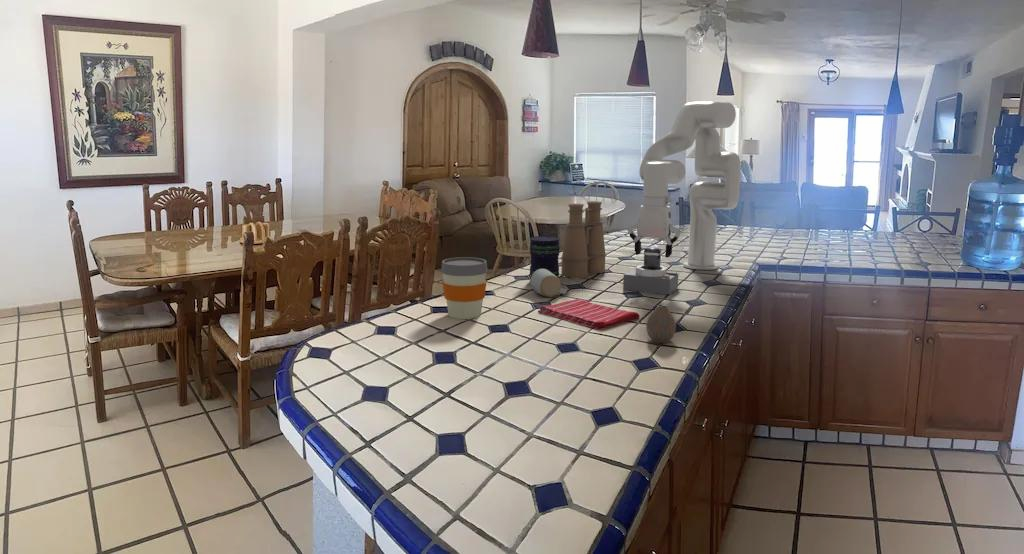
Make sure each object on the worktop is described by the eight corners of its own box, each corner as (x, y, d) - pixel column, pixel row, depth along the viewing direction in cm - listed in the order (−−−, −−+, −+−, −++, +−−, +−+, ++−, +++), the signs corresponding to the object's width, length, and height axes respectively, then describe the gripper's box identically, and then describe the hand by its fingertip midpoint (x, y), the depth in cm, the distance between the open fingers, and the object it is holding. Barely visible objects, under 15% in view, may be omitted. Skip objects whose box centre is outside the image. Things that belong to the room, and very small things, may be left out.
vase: (652, 334, 169) (654, 300, 167) (679, 339, 165) (681, 305, 163) (641, 341, 164) (642, 306, 162) (668, 347, 160) (670, 311, 158)
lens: (645, 271, 220) (647, 246, 218) (662, 273, 218) (663, 247, 216) (640, 274, 215) (641, 249, 214) (657, 276, 213) (658, 250, 211)
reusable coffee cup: (492, 319, 182) (492, 264, 179) (446, 322, 179) (445, 266, 176) (481, 307, 194) (481, 256, 191) (438, 310, 191) (437, 258, 187)
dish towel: (600, 332, 173) (600, 322, 172) (536, 313, 190) (536, 304, 189) (642, 320, 184) (642, 311, 183) (578, 303, 201) (578, 295, 200)
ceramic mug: (540, 299, 204) (541, 274, 202) (529, 293, 211) (530, 269, 210) (571, 296, 208) (572, 272, 206) (560, 290, 215) (560, 267, 214)
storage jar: (549, 287, 220) (550, 241, 216) (523, 283, 225) (524, 238, 221) (564, 281, 228) (565, 237, 225) (538, 278, 233) (539, 235, 230)
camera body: (632, 283, 225) (633, 262, 224) (677, 288, 218) (678, 267, 217) (623, 289, 217) (623, 268, 215) (669, 294, 210) (670, 272, 208)
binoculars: (577, 280, 230) (579, 206, 225) (554, 275, 237) (555, 204, 231) (611, 271, 245) (614, 202, 240) (589, 267, 251) (591, 199, 246)
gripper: (685, 201, 211) (682, 255, 215) (632, 199, 219) (630, 251, 223) (679, 204, 205) (676, 260, 209) (624, 201, 212) (623, 255, 216)
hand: (652, 255), depth 216 cm, fingers open, 9 cm apart
